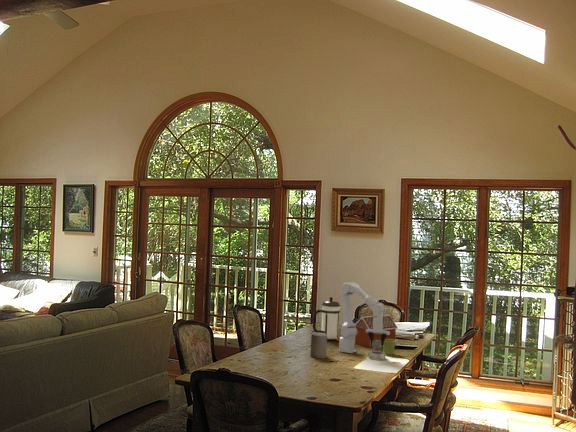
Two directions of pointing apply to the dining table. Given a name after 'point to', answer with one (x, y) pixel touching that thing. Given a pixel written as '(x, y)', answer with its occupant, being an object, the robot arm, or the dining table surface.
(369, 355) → the faceted ring
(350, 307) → the robot arm
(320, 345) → the pillar candle
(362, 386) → the dining table surface
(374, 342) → the cap
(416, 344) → the dining table surface
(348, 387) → the dining table surface
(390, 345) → the plant pot
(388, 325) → the gingerbread house
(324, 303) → the coffee press
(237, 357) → the dining table surface
